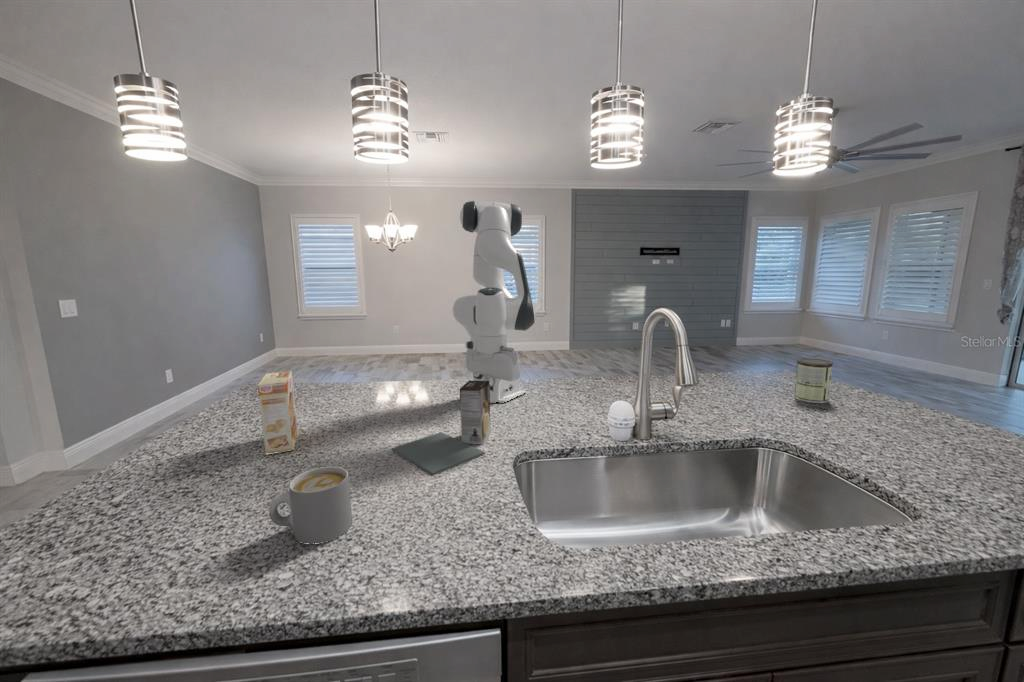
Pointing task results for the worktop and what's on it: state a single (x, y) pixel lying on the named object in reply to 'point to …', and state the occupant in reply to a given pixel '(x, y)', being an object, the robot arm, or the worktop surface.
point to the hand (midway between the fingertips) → (492, 390)
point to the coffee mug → (316, 505)
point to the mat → (437, 452)
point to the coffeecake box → (278, 411)
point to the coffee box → (475, 412)
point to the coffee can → (813, 380)
